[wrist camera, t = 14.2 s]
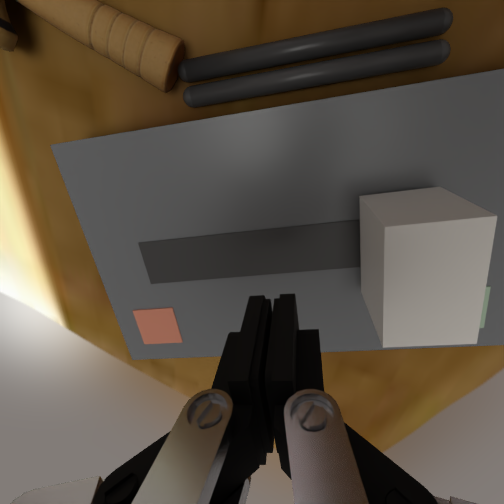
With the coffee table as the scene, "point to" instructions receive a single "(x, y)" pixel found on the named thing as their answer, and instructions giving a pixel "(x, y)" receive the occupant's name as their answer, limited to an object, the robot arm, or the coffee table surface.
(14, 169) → the coffee table surface
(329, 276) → the switch panel
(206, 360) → the coffee table surface
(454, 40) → the coffee table surface
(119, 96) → the coffee table surface
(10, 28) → the kendama
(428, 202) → the breaker knob
